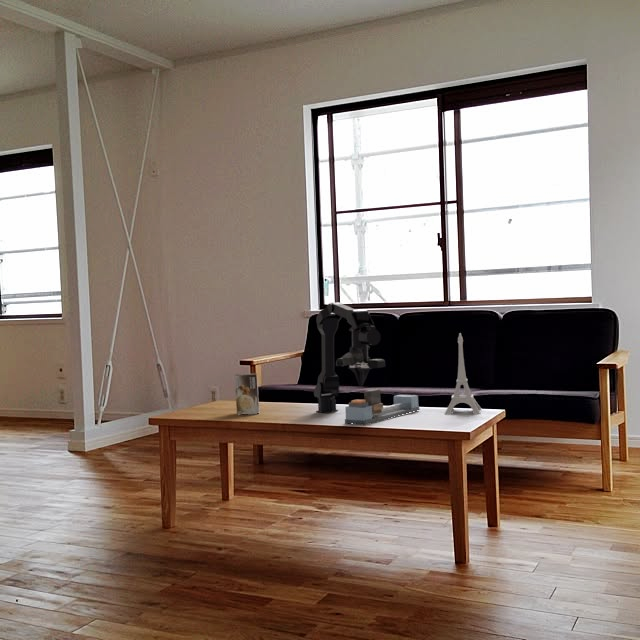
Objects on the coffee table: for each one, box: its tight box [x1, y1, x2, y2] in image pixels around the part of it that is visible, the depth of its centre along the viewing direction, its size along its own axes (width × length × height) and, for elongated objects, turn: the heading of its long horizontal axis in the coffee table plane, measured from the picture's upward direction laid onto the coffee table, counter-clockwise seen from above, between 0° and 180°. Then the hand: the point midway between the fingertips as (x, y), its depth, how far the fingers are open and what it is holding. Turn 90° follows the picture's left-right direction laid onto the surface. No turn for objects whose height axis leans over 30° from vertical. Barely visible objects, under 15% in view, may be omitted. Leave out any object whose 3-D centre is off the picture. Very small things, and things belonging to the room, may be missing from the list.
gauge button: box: [350, 398, 365, 403], centre depth 281 cm, size 4×4×2 cm
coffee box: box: [234, 373, 260, 415], centre depth 319 cm, size 9×6×16 cm
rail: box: [344, 394, 421, 426], centre depth 294 cm, size 9×37×8 cm, turn 142°
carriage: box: [363, 388, 384, 415], centre depth 288 cm, size 5×6×8 cm
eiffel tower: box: [443, 332, 483, 415], centre depth 299 cm, size 13×13×30 cm
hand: (361, 386), depth 289 cm, fingers closed
